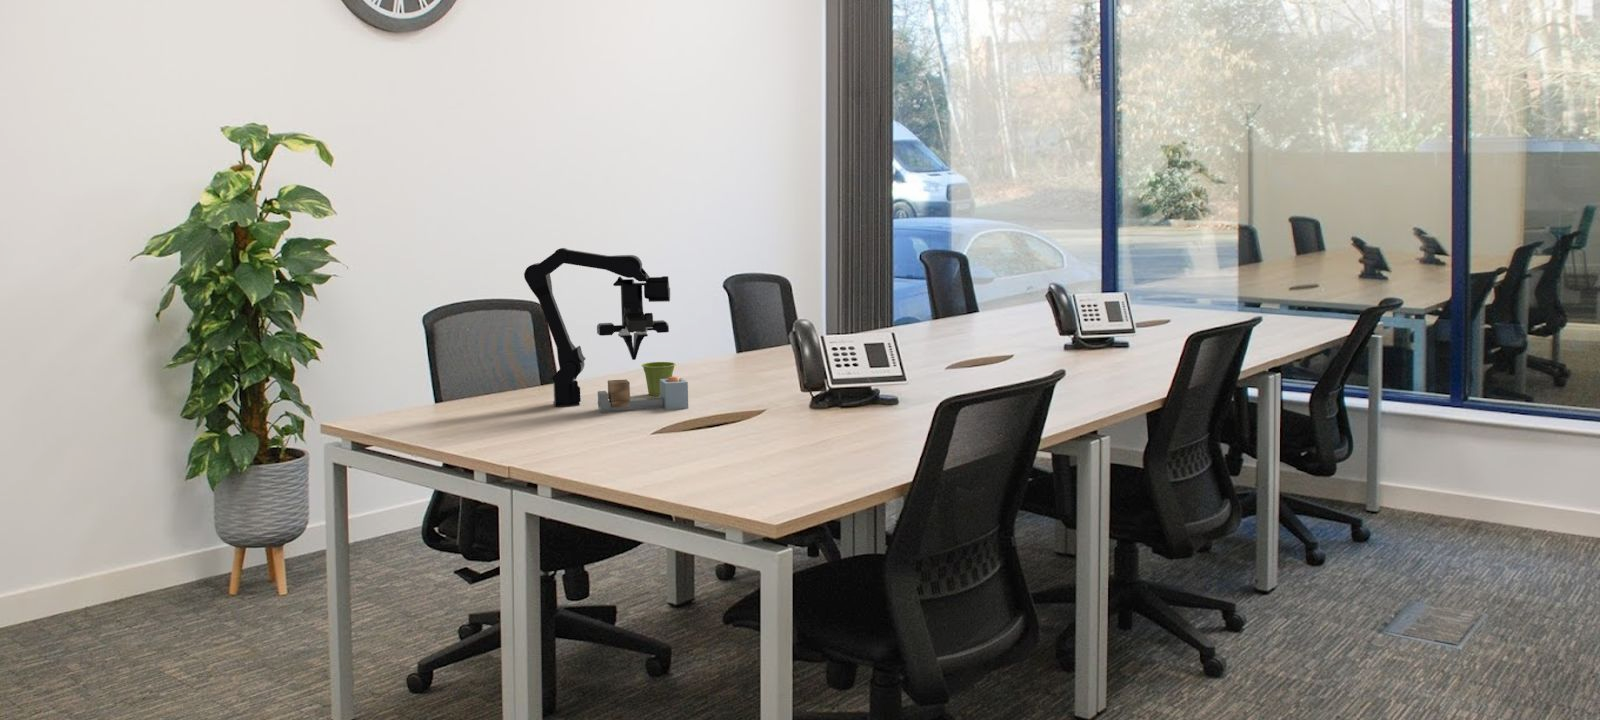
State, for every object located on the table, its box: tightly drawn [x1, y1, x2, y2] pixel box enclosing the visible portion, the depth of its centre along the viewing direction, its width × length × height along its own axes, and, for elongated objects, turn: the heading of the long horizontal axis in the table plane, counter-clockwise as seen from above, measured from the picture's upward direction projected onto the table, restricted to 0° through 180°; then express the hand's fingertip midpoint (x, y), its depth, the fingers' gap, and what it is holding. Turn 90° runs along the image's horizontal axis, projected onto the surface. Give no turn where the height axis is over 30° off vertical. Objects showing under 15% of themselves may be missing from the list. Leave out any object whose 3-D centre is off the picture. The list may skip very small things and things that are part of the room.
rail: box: [597, 390, 665, 414], centre depth 364 cm, size 18×5×5 cm, turn 106°
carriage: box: [607, 378, 631, 408], centre depth 363 cm, size 5×5×6 cm
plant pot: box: [641, 361, 676, 397], centre depth 387 cm, size 9×9×9 cm
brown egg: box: [668, 376, 680, 382], centre depth 367 cm, size 3×3×4 cm
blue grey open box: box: [659, 377, 689, 411], centre depth 367 cm, size 6×8×7 cm
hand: (633, 359), depth 372 cm, fingers closed
